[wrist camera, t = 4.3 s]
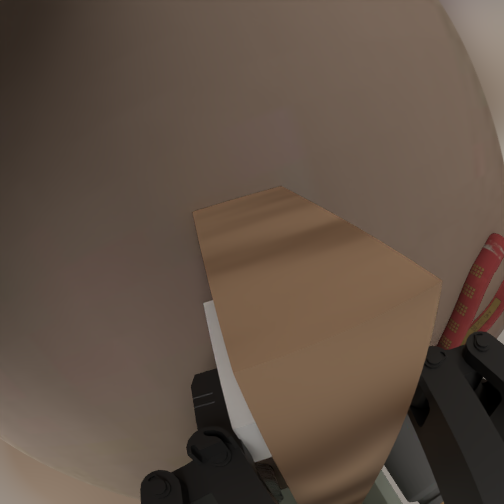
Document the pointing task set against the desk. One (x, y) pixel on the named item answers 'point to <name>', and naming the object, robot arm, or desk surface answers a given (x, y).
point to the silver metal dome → (270, 480)
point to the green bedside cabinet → (377, 500)
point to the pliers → (476, 297)
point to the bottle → (412, 467)
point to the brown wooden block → (317, 336)
